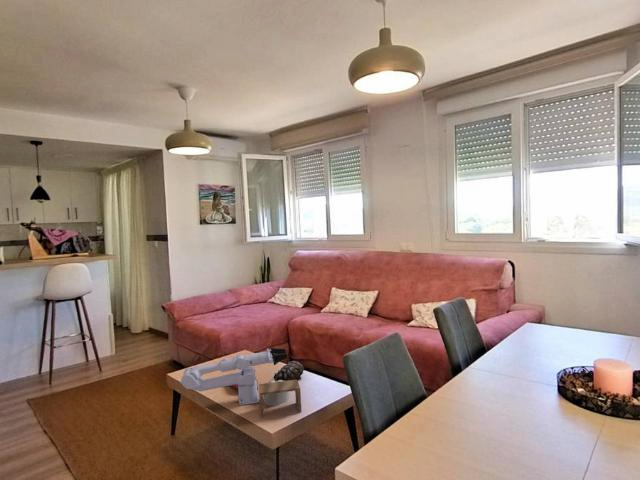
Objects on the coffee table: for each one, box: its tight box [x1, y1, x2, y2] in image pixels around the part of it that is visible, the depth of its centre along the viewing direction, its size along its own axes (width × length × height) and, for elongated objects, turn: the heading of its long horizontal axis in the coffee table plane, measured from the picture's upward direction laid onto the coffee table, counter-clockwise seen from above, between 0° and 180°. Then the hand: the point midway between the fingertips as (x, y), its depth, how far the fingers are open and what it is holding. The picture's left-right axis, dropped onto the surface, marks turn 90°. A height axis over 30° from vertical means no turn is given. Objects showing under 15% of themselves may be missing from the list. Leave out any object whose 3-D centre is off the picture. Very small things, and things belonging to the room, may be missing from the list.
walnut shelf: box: [258, 380, 302, 419], centre depth 183 cm, size 18×10×12 cm, turn 102°
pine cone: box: [272, 360, 305, 381], centre depth 216 cm, size 10×18×10 cm, turn 137°
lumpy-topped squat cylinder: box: [263, 380, 291, 407], centre depth 194 cm, size 10×13×9 cm
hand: (286, 353), depth 197 cm, fingers open, 7 cm apart
